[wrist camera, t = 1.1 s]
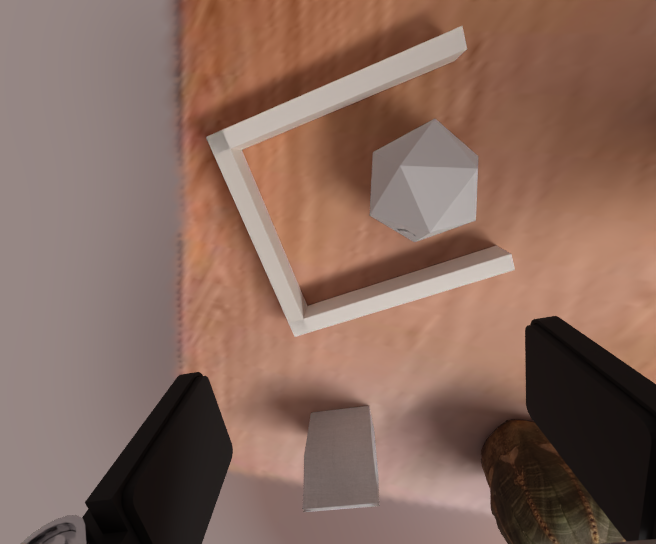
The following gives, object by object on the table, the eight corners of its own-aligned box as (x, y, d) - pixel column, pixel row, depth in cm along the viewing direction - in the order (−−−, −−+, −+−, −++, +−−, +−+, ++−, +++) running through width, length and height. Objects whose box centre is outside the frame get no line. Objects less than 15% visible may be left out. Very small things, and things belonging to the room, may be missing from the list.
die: (350, 156, 30) (346, 238, 24) (425, 76, 24) (441, 161, 18) (413, 199, 34) (422, 279, 28) (492, 139, 28) (522, 226, 22)
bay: (450, 40, 26) (462, 25, 23) (499, 259, 31) (514, 269, 28) (219, 139, 29) (205, 136, 27) (299, 322, 35) (294, 336, 32)
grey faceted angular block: (310, 412, 38) (298, 494, 29) (369, 405, 38) (375, 487, 28) (317, 437, 39) (307, 525, 30) (374, 431, 39) (382, 519, 29)
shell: (470, 489, 40) (517, 617, 29) (471, 415, 37) (524, 528, 26) (565, 486, 39) (652, 617, 28) (574, 410, 36) (678, 525, 25)
